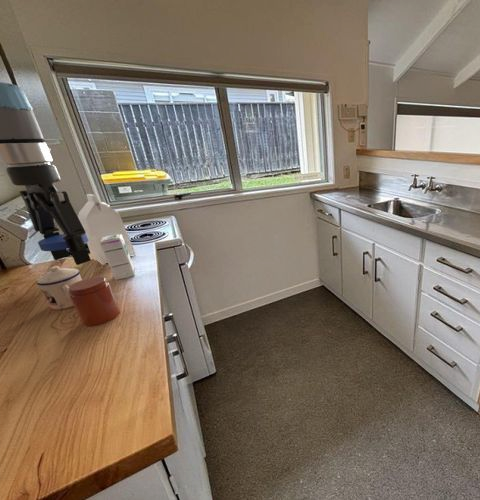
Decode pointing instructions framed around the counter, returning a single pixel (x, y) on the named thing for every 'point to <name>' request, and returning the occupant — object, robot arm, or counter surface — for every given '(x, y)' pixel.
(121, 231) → the milk
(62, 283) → the teacup with lid
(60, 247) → the jam lid
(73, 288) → the jam jar
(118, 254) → the syrup box
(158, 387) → the counter surface
